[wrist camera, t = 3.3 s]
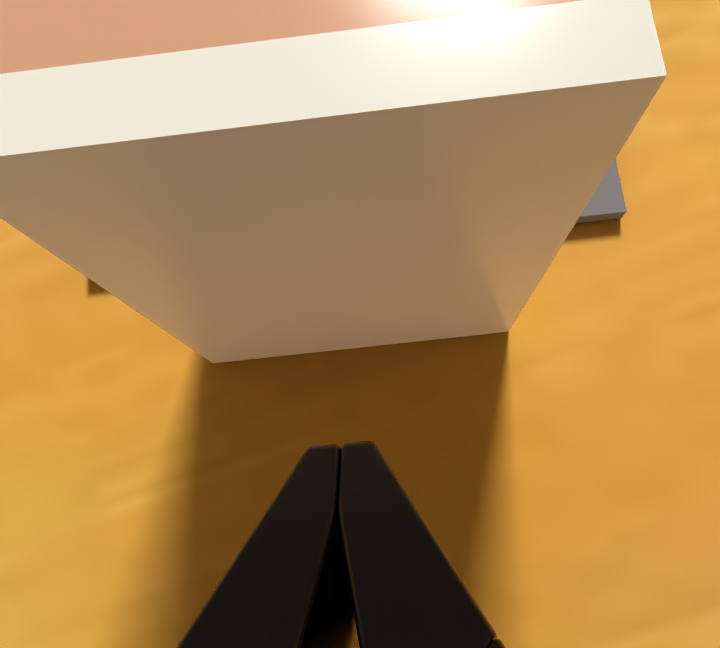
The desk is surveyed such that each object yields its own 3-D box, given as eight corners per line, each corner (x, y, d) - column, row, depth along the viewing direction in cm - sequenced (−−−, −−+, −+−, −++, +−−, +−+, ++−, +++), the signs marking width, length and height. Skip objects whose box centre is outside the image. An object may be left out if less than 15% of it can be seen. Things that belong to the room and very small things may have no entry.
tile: (508, 331, 16) (666, 75, 6) (212, 363, 16) (-77, 165, 7) (497, 259, 16) (628, -85, 7) (209, 291, 17) (-65, 6, 7)
